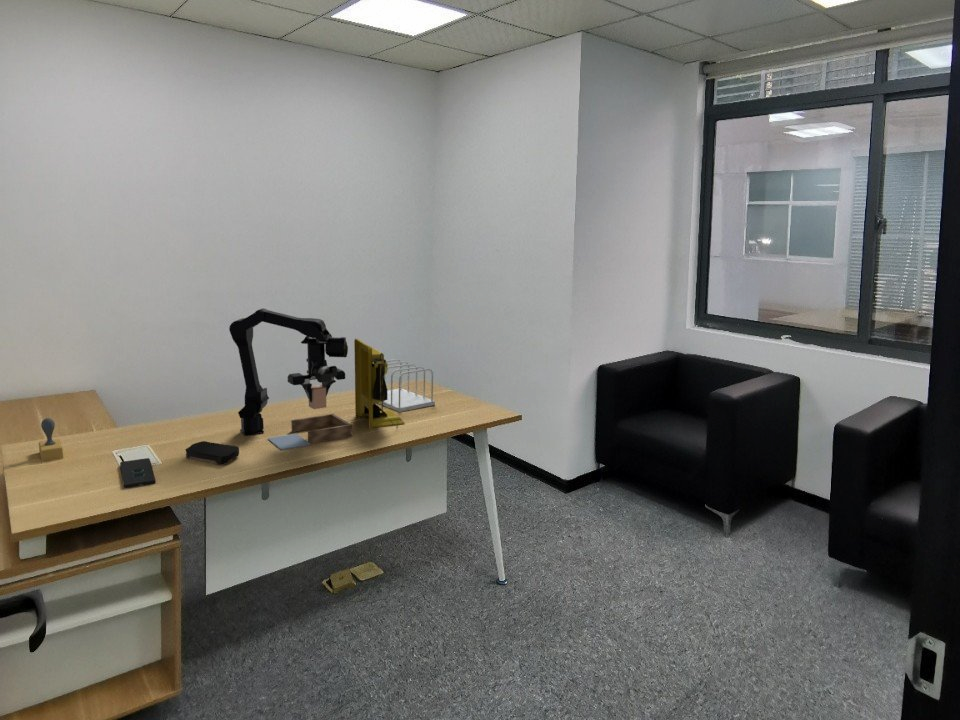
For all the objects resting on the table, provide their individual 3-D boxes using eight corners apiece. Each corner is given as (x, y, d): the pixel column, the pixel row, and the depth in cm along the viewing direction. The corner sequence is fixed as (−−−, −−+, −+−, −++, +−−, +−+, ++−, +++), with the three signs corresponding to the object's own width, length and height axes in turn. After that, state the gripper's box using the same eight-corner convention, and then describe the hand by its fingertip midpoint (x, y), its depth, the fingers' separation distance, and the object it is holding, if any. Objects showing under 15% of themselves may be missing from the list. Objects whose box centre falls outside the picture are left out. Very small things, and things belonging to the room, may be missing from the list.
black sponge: (243, 458, 216) (242, 447, 215) (224, 466, 208) (223, 455, 208) (201, 451, 222) (200, 440, 221) (181, 459, 214) (180, 448, 213)
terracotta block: (314, 409, 235) (313, 389, 233) (308, 406, 238) (308, 386, 237) (326, 407, 237) (326, 387, 236) (321, 404, 241) (320, 384, 240)
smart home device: (123, 484, 190) (119, 461, 207) (123, 490, 190) (119, 467, 207) (156, 479, 194) (149, 457, 211) (156, 485, 194) (150, 462, 211)
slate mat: (281, 450, 223) (281, 449, 223) (267, 439, 233) (267, 438, 233) (310, 444, 229) (310, 443, 229) (296, 434, 239) (296, 433, 239)
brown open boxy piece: (309, 443, 230) (308, 432, 229) (291, 431, 243) (291, 420, 242) (352, 436, 239) (351, 424, 238) (333, 424, 252) (332, 413, 251)
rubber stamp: (39, 452, 216) (35, 415, 214) (61, 449, 220) (57, 413, 217) (41, 462, 208) (37, 423, 206) (63, 458, 212) (59, 420, 209)
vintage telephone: (413, 431, 245) (413, 348, 239) (375, 436, 239) (374, 351, 233) (386, 408, 273) (386, 333, 267) (351, 412, 267) (350, 335, 261)
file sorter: (366, 398, 288) (365, 362, 284) (401, 392, 298) (401, 357, 295) (398, 412, 269) (398, 373, 265) (435, 405, 280) (435, 368, 276)
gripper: (298, 363, 223) (300, 410, 226) (352, 358, 233) (352, 402, 237) (286, 357, 231) (287, 402, 235) (338, 352, 242) (338, 395, 245)
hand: (317, 401), depth 238 cm, fingers closed on terracotta block, 4 cm apart
